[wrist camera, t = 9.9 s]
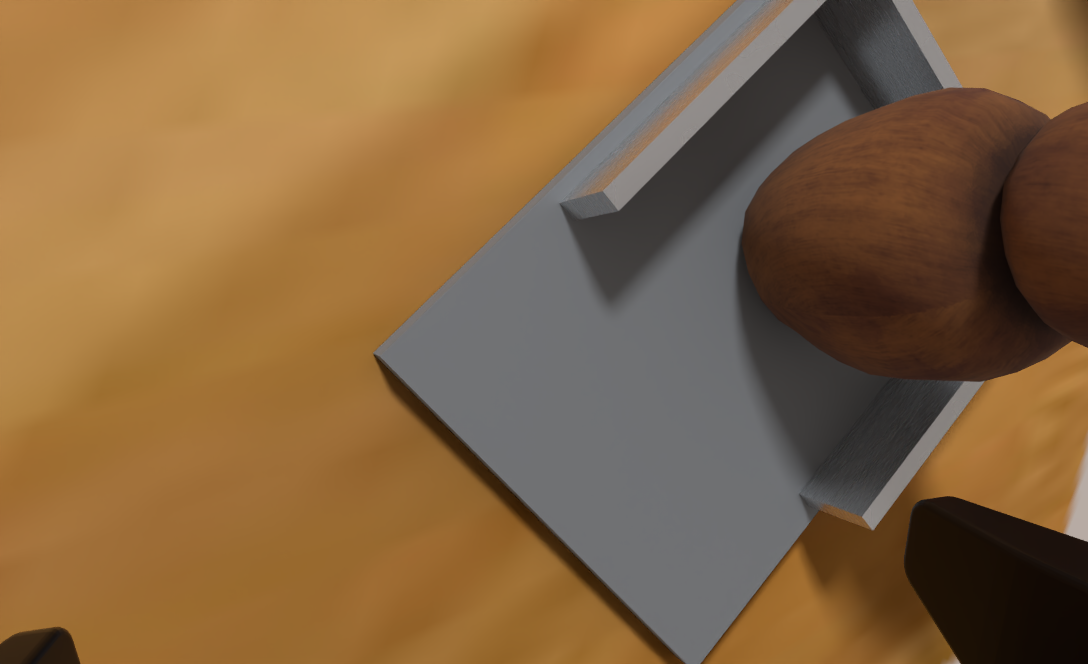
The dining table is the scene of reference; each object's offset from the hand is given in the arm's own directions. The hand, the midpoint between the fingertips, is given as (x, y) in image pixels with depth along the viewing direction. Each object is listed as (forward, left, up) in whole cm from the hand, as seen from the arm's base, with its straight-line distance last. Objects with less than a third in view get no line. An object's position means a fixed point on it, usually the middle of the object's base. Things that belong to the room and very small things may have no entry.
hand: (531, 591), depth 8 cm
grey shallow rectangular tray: (+10, -5, -12) cm, 16 cm away
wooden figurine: (+12, -5, -11) cm, 17 cm away
